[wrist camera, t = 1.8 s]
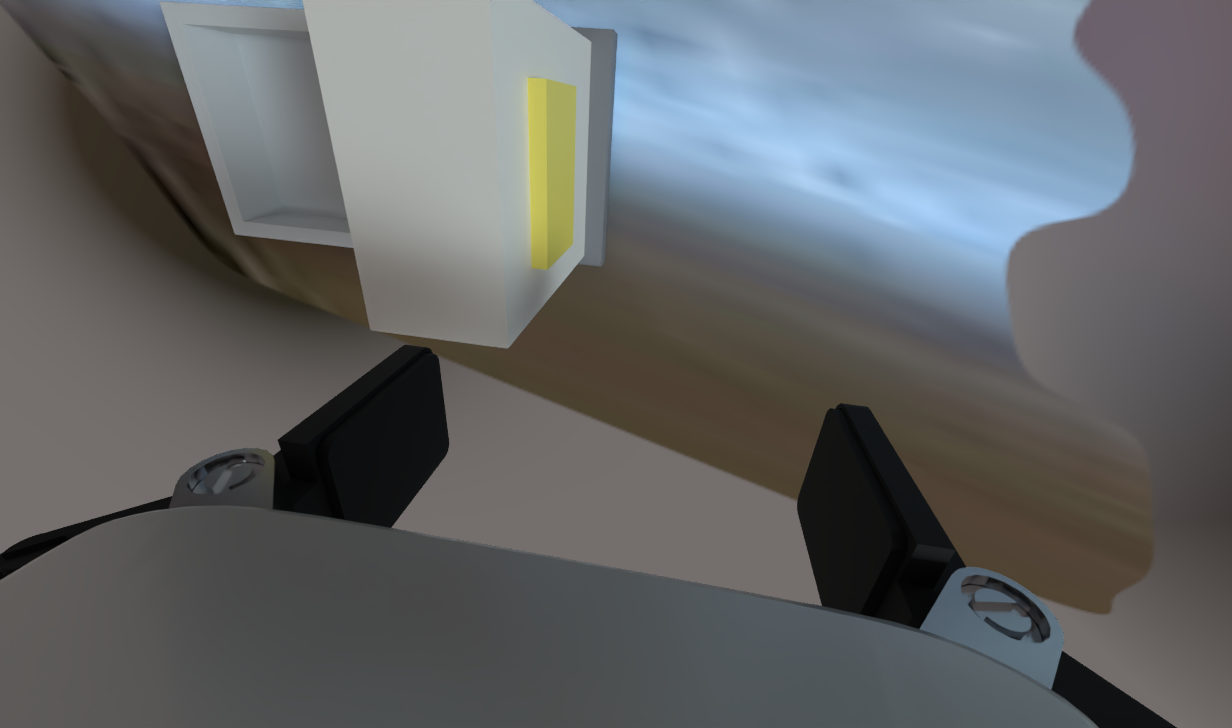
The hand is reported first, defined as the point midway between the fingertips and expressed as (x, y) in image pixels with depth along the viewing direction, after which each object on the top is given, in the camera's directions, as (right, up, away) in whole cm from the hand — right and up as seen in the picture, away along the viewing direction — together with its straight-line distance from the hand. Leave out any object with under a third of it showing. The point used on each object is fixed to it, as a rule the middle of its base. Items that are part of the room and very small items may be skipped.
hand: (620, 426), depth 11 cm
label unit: (-4, +13, +14) cm, 19 cm away
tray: (-16, +14, +15) cm, 26 cm away
